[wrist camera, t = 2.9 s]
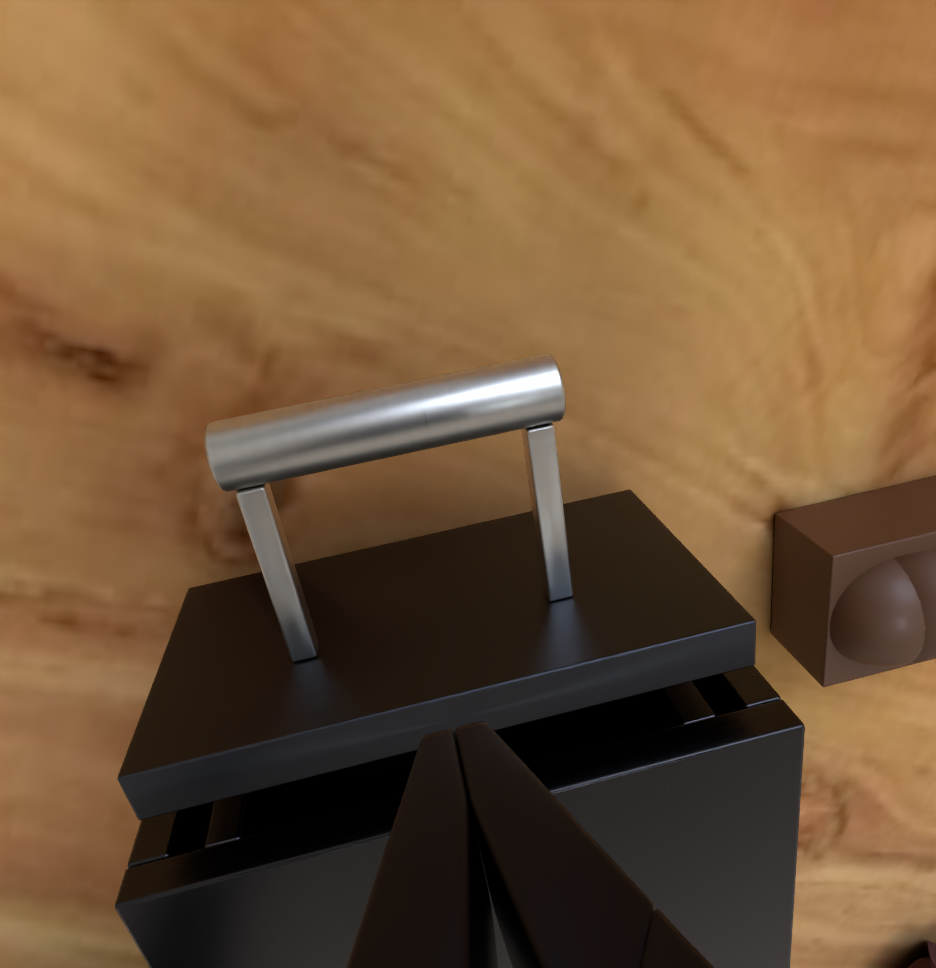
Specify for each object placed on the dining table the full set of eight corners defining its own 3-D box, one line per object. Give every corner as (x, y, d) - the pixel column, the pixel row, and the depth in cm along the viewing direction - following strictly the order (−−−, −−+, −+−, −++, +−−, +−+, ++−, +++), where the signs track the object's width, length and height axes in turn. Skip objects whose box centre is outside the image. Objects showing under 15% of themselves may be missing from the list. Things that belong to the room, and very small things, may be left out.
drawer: (111, 394, 17) (-22, 516, 11) (617, 295, 18) (763, 352, 12) (303, 880, 25) (290, 1116, 18) (650, 788, 26) (749, 980, 19)
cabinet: (197, 635, 21) (112, 907, 13) (641, 533, 22) (806, 725, 14) (311, 919, 27) (299, 1227, 19) (658, 825, 28) (784, 1076, 20)
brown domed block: (770, 633, 25) (854, 721, 21) (774, 512, 23) (868, 583, 19) (934, 592, 25) (1047, 670, 21) (952, 471, 23) (1081, 531, 19)
